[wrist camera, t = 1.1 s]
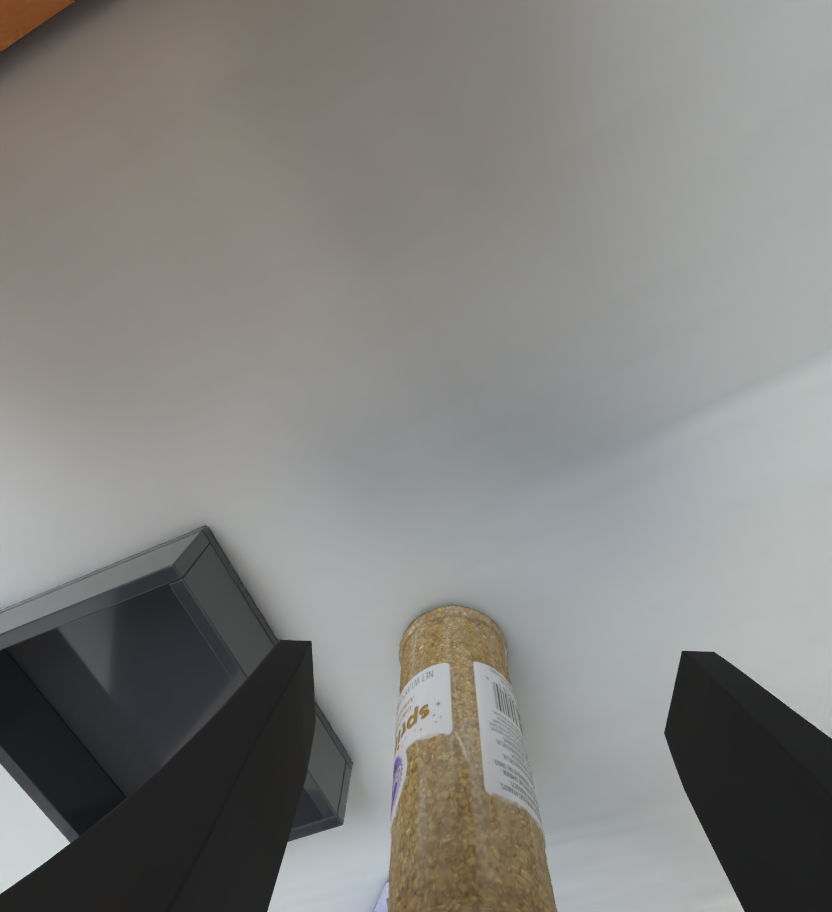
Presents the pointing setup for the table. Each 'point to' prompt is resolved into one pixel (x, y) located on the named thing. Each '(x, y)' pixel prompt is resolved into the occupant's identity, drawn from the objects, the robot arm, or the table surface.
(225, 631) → the dark gray square tray
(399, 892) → the sprinkles bottle
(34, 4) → the bread
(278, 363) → the table surface
